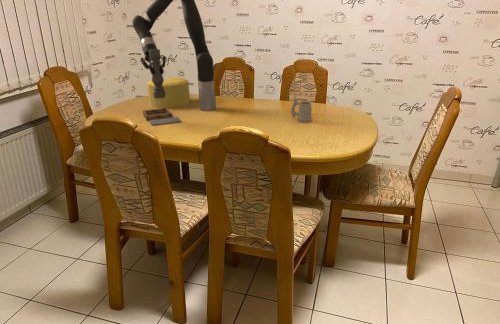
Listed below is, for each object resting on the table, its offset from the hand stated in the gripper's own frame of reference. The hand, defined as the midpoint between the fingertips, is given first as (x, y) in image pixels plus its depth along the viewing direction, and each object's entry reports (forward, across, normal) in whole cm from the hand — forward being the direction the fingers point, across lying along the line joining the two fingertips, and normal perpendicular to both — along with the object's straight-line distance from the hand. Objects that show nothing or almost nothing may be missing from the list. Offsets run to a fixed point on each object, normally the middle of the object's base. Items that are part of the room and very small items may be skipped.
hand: (157, 73), depth 199 cm
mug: (+46, +65, -8) cm, 80 cm away
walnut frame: (+11, -1, +25) cm, 27 cm away
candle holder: (+8, 0, +11) cm, 13 cm away
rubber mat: (+20, 0, +16) cm, 26 cm away
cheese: (-8, +14, +45) cm, 48 cm away
